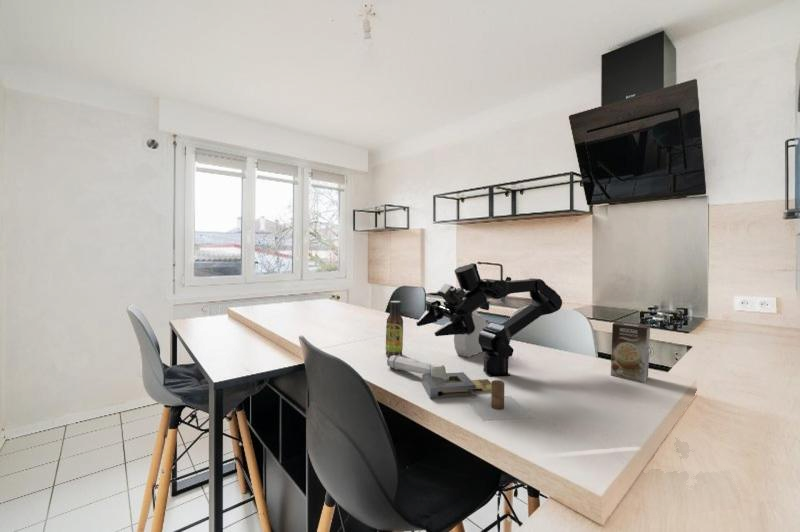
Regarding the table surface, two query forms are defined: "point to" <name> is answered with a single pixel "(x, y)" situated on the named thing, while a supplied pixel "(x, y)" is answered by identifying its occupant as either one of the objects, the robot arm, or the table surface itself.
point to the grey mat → (488, 413)
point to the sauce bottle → (394, 330)
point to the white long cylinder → (417, 367)
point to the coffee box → (630, 350)
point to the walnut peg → (497, 395)
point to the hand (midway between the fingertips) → (425, 329)
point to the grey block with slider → (453, 386)
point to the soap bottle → (470, 338)
